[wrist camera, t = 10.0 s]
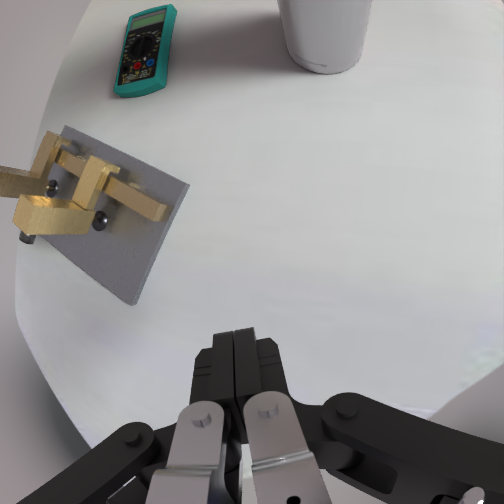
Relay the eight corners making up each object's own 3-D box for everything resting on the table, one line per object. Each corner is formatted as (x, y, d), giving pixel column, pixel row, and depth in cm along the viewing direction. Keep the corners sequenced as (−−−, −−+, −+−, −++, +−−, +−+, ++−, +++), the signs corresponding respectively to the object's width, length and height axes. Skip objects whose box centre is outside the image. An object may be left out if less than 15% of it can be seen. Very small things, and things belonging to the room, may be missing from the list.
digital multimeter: (120, 102, 37) (109, 95, 35) (136, 22, 37) (127, 13, 34) (167, 92, 36) (157, 83, 33) (179, 11, 35) (171, 0, 32)
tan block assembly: (62, 135, 38) (0, 114, 26) (176, 193, 34) (111, 175, 22) (37, 200, 39) (-27, 193, 27) (139, 274, 36) (68, 290, 24)
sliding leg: (108, 160, 36) (41, 139, 24) (124, 169, 35) (56, 147, 24) (78, 233, 37) (9, 233, 25) (93, 244, 37) (22, 247, 25)
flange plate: (70, 127, 39) (64, 125, 38) (190, 185, 35) (185, 183, 34) (33, 223, 41) (27, 223, 40) (136, 304, 37) (130, 306, 36)
